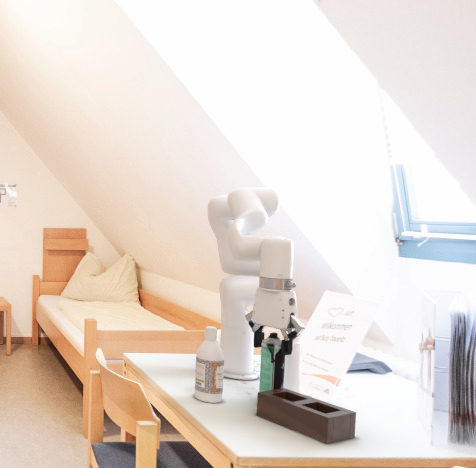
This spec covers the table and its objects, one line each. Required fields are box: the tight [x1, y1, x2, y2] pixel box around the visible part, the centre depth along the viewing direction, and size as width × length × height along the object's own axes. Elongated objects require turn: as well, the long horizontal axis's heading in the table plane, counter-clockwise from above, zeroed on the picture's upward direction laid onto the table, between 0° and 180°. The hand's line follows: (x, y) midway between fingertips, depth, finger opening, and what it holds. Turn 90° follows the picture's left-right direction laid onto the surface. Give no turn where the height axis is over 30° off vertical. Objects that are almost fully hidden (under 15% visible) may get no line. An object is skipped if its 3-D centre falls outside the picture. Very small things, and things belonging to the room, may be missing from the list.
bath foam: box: [194, 325, 224, 404], centre depth 146 cm, size 7×7×20 cm
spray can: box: [258, 332, 285, 392], centre depth 141 cm, size 6×6×20 cm
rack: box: [256, 388, 357, 445], centre depth 129 cm, size 10×18×6 cm, turn 23°
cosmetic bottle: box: [283, 329, 303, 394], centre depth 147 cm, size 6×6×22 cm
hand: (272, 350), depth 141 cm, fingers open, 7 cm apart
